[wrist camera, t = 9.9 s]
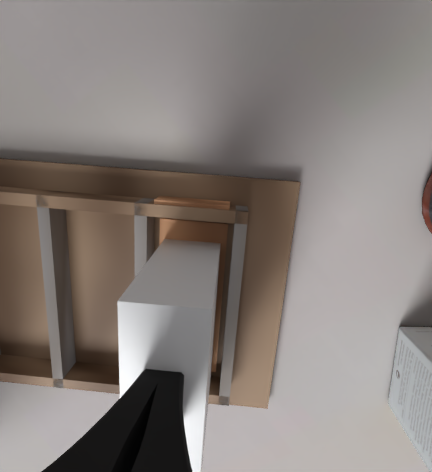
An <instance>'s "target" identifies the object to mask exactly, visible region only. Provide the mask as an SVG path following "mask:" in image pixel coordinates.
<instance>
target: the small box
mask: <svg viewBox="0 0 432 472" xmlns="http://www.w3.org/2000/svg"><path fill="white" fill-rule="evenodd" d="M388 405H389V407H390V408H391V410H392V412H393V413H394V415H395V416H396V418H397V420H398V421H399V423H400V425H401V426H402V428H403V429H404V431H405V433H406V434H407V436H408V437H409V439H410V441H411V442H412V444H413V446H414V447H415V449H416V451H417V452H418V454H419V455H420V457H421V459H422V460H423V462H424V463H425V465H426V467H427V468H428V470H429V472H432V327H399V332H398V339H397V346H396V352H395V359H394V366H393V373H392V380H391V386H390V393H389V400H388Z"/></svg>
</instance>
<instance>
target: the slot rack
mask: <svg viewBox="0 0 432 472" xmlns="http://www.w3.org/2000/svg"><path fill="white" fill-rule="evenodd" d="M299 189H300V182H298V181H287V180H274V179H261V178H248V177H235V176H222V175H209V174H196V173H183V172H170V171H157V170H144V169H131V168H118V167H105V166H92V165H79V164H66V163H53V162H40V161H27V160H15V159H2V158H0V381H3V382H12V383H21V384H31V385H40V386H49V387H59V388H68V389H78V390H87V391H96V392H106V393H115V394H120V384H119V345H118V306H117V301H118V300H119V298H120V297H121V296H122V294H123V293H124V292H125V291H126V289H127V288H128V287H129V285H130V284H131V283H132V281H133V280H134V279H135V277H136V276H137V275H138V273H139V272H140V271H141V269H142V268H143V267H144V265H145V264H146V263H147V261H148V260H149V259H150V257H151V256H152V255H153V254H154V252H155V251H156V250H157V248H158V247H159V246H160V244H161V243H162V242H163V240H164V239H173V240H185V241H198V242H210V243H221V245H220V259H219V272H218V286H217V300H216V313H215V327H214V341H213V355H212V368H211V379H210V389H209V400H208V403H209V404H219V405H228V406H229V405H238V406H248V407H257V408H266V409H268V402H269V395H270V388H271V381H272V374H273V368H274V361H275V354H276V347H277V340H278V333H279V326H280V319H281V313H282V306H283V299H284V292H285V285H286V278H287V271H288V265H289V258H290V251H291V244H292V237H293V230H294V223H295V216H296V210H297V203H298V196H299Z"/></svg>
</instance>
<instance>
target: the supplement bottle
mask: <svg viewBox="0 0 432 472" xmlns="http://www.w3.org/2000/svg"><path fill="white" fill-rule="evenodd" d="M422 215H423V217H424V220H425V224H426V225H427V227H428V229H429V231H430V232H431V233H432V173H431V175H430V177H429V179H428V181H427V183H426V186H425V189H424V193H423V197H422Z"/></svg>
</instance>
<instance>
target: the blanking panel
mask: <svg viewBox="0 0 432 472" xmlns="http://www.w3.org/2000/svg"><path fill="white" fill-rule="evenodd" d="M220 245H221V243H210V242H198V241H185V240H173V239H164V240H163V242H162V243H161V244H160V246H159V247H158V248H157V250H156V251H155V252H154V254H153V255H152V256H151V257H150V259H149V260H148V261H147V263H146V264H145V265H144V267H143V268H142V269H141V271H140V272H139V273H138V275H137V276H136V277H135V279H134V280H133V281H132V283H131V284H130V285H129V287H128V288H127V289H126V291H125V292H124V293H123V294H122V296H121V297H120V298H119V300H118V301H117V306H118V345H119V384H120V398H121V397H122V396H123V394H124V393H125V392H126V391H127V390H128V389H129V387H130V386H131V385H132V384H133V383H134V381H135V380H136V379H137V378H138V377H139V375H140V374H141V373H142V372H143V371H144V370H145V369H153V370H163V371H173V372H182V374H183V375H184V391H183V417H184V427H185V434H186V441H187V447H188V453H189V458H190V463H191V468H192V472H201V471H202V461H203V451H204V441H205V430H206V420H207V410H208V400H209V389H210V379H211V368H212V355H213V341H214V327H215V313H216V300H217V286H218V272H219V259H220Z"/></svg>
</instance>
